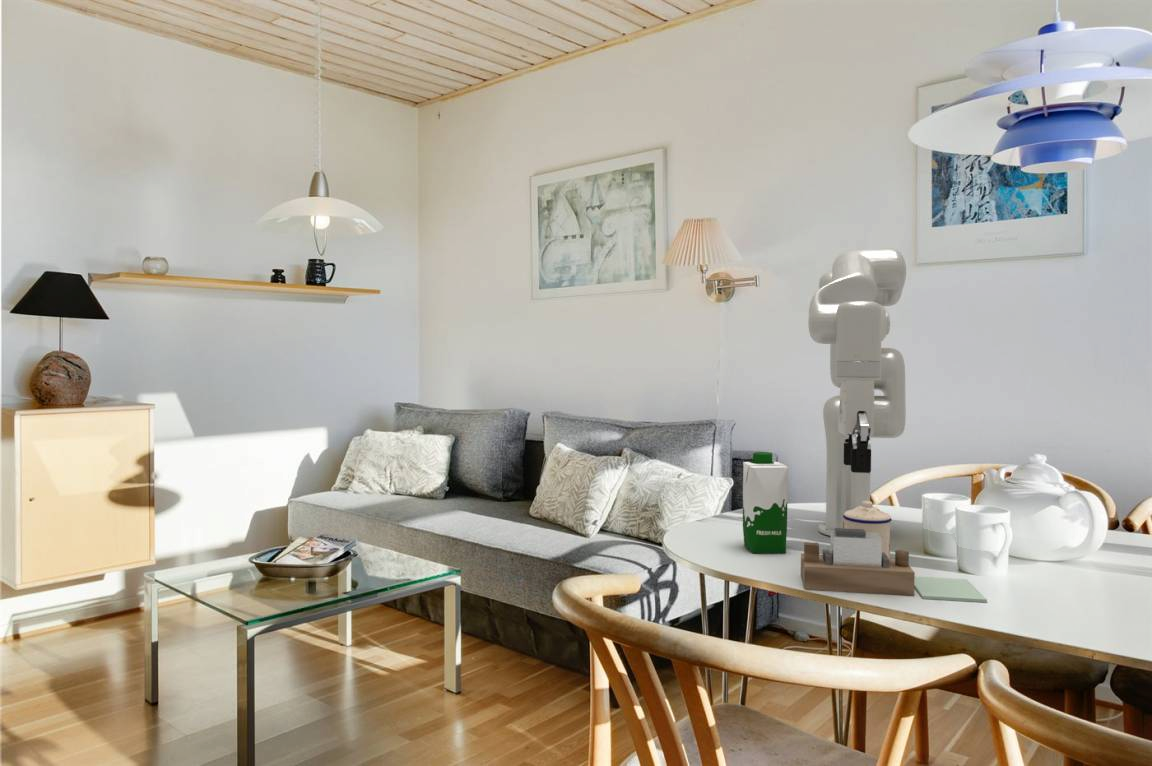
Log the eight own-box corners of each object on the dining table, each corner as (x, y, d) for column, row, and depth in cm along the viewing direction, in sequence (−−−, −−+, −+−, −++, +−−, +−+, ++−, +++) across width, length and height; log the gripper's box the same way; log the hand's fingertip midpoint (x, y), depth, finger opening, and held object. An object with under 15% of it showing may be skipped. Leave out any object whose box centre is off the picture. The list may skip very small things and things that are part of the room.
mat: (907, 578, 145) (907, 576, 145) (966, 582, 143) (966, 579, 143) (922, 598, 133) (922, 595, 133) (986, 602, 131) (986, 599, 131)
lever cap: (830, 557, 144) (830, 526, 144) (876, 560, 143) (877, 528, 143) (833, 565, 139) (833, 532, 139) (881, 567, 138) (881, 534, 138)
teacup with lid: (901, 563, 156) (902, 504, 155) (862, 567, 153) (862, 507, 152) (861, 549, 167) (862, 494, 167) (824, 552, 164) (825, 496, 164)
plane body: (800, 575, 148) (801, 537, 147) (903, 580, 144) (904, 542, 144) (804, 589, 139) (804, 549, 138) (914, 595, 135) (914, 554, 135)
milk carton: (779, 543, 171) (780, 451, 171) (791, 554, 162) (792, 457, 162) (738, 544, 171) (739, 451, 170) (749, 554, 162) (749, 457, 161)
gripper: (830, 371, 149) (829, 462, 149) (841, 372, 132) (840, 474, 132) (872, 371, 147) (871, 463, 148) (889, 372, 130) (888, 476, 131)
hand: (856, 468), depth 140 cm, fingers open, 9 cm apart
